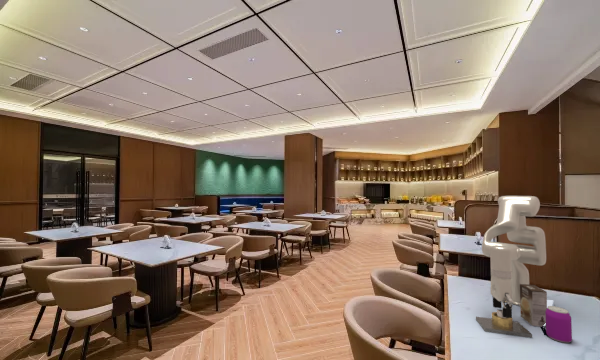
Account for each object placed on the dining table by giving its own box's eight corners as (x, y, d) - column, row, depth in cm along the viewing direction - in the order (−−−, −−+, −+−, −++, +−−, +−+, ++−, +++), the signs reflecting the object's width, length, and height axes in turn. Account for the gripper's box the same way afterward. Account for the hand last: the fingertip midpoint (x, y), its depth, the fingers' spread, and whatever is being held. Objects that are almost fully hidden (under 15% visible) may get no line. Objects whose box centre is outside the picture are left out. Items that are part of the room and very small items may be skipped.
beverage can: (567, 336, 110) (566, 307, 111) (575, 346, 103) (574, 315, 104) (543, 331, 114) (542, 303, 114) (549, 340, 107) (548, 310, 107)
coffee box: (519, 316, 128) (518, 283, 128) (534, 318, 126) (533, 284, 127) (532, 326, 119) (531, 290, 119) (548, 327, 117) (547, 291, 118)
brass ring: (507, 322, 119) (507, 313, 119) (515, 330, 112) (515, 320, 112) (489, 319, 121) (489, 311, 121) (496, 327, 114) (496, 318, 114)
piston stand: (518, 325, 119) (518, 308, 119) (532, 338, 108) (531, 319, 109) (475, 319, 124) (475, 303, 124) (485, 331, 113) (484, 313, 114)
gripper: (483, 267, 127) (484, 303, 126) (500, 279, 110) (501, 320, 110) (501, 268, 125) (503, 305, 124) (521, 280, 108) (522, 322, 107)
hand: (502, 312), depth 117 cm, fingers open, 9 cm apart
